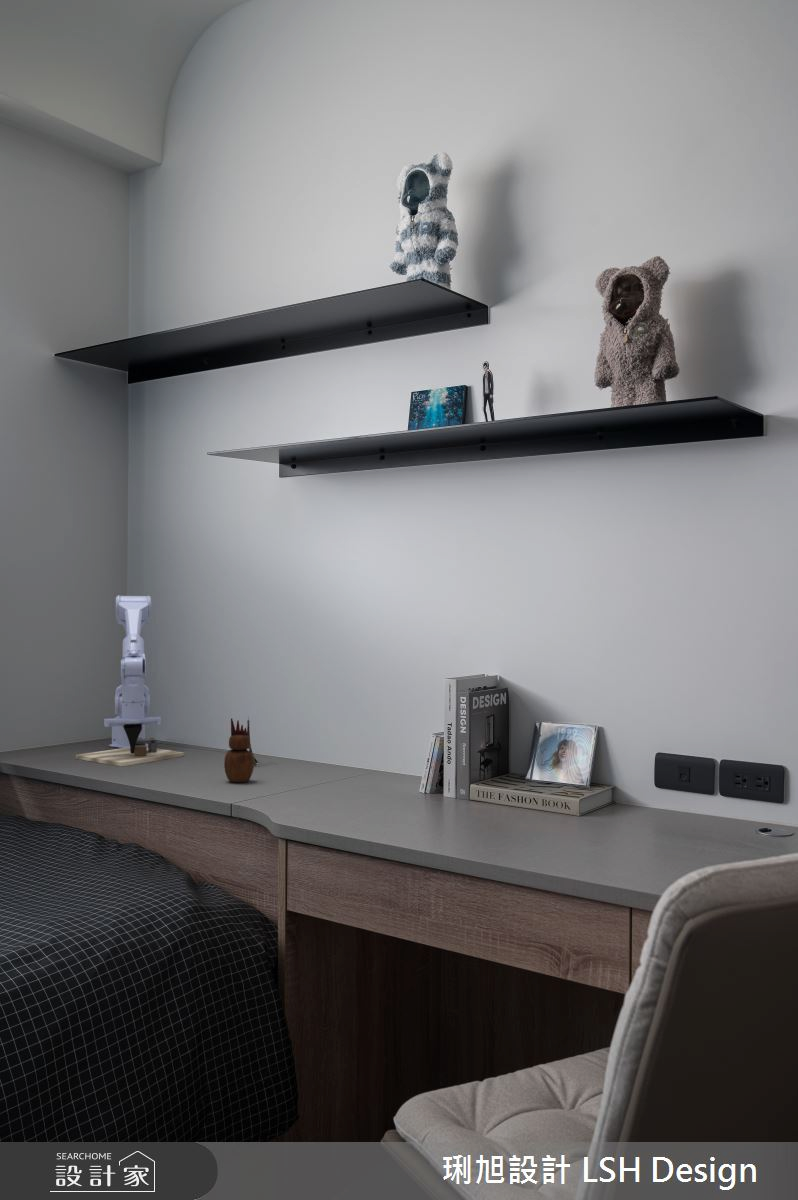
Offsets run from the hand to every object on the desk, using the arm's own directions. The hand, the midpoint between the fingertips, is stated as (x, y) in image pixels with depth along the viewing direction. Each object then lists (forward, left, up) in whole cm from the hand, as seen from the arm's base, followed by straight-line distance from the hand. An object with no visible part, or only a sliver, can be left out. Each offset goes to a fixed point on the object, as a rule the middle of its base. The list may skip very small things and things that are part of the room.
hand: (132, 752), depth 257 cm
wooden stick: (-4, +6, -1) cm, 7 cm away
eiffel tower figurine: (+29, +14, -3) cm, 32 cm away
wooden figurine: (+44, -4, -2) cm, 44 cm away
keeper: (-3, +6, -1) cm, 7 cm away
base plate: (-3, +2, -2) cm, 4 cm away
